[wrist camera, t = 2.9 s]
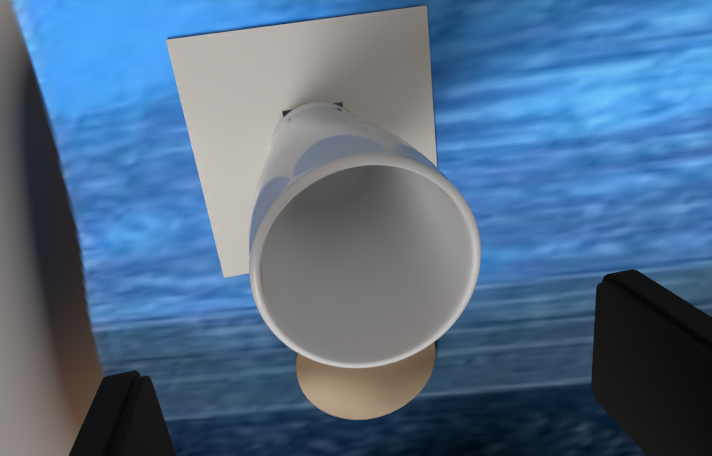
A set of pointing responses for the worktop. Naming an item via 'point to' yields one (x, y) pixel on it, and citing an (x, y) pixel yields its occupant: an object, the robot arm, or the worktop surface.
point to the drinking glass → (357, 241)
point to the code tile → (294, 98)
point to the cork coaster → (364, 385)
